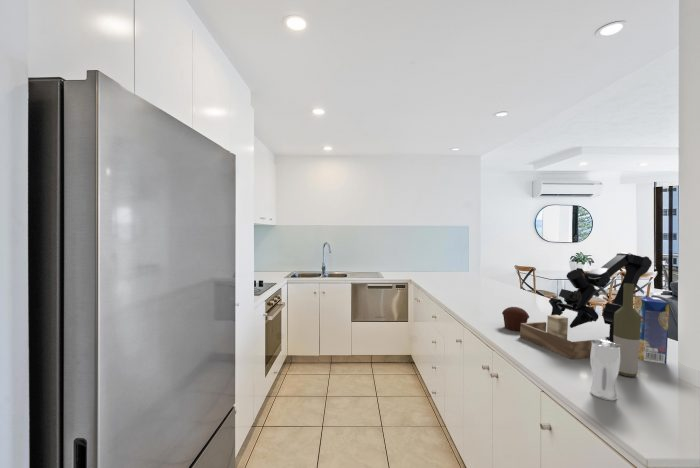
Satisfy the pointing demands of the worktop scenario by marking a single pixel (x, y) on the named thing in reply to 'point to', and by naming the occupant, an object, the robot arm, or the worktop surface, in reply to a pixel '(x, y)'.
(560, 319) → the ash block
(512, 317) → the muffin
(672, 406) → the worktop surface
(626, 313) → the bottle
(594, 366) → the beer glass
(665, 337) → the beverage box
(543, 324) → the u-shaped wooden wall
